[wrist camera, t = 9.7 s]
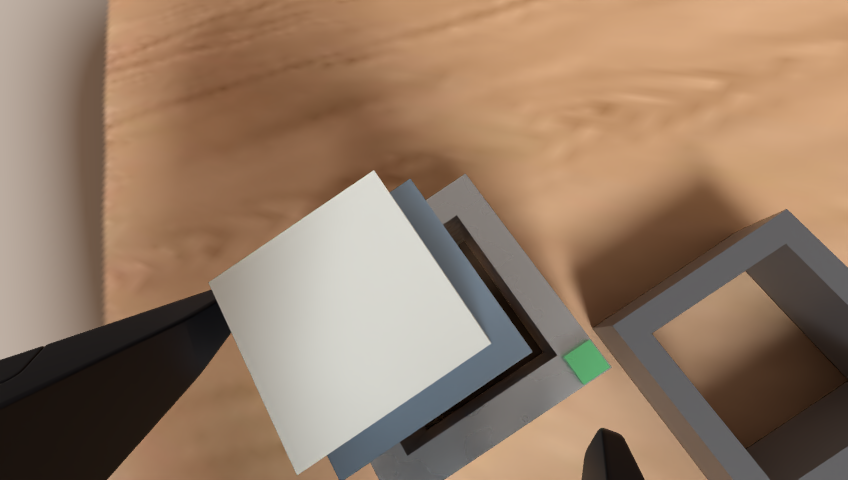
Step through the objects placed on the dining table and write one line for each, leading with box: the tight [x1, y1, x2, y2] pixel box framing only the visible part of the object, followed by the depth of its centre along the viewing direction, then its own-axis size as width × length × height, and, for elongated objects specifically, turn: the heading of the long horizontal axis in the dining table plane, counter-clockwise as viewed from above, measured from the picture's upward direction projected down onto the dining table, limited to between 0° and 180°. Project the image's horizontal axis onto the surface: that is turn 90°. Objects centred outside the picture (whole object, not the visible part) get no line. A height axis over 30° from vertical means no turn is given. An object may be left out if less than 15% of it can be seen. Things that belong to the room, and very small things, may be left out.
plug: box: [208, 170, 532, 480], centre depth 12 cm, size 4×4×13 cm
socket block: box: [370, 174, 612, 480], centre depth 16 cm, size 8×8×4 cm
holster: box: [592, 209, 848, 480], centre depth 14 cm, size 7×7×3 cm
